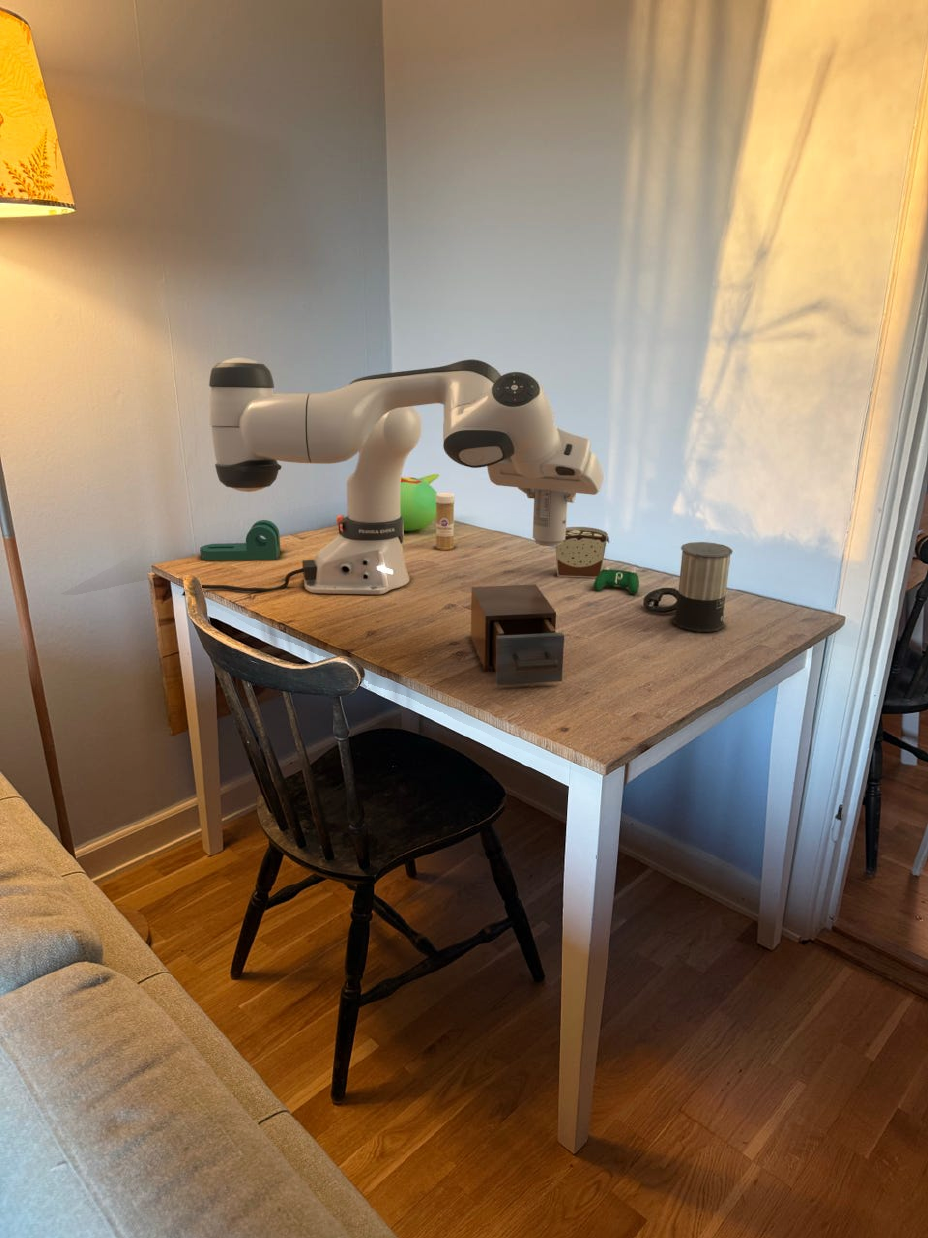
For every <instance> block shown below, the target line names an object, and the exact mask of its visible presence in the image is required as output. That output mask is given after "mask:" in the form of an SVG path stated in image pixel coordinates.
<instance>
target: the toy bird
mask: <svg viewBox="0 0 928 1238" xmlns="http://www.w3.org/2000/svg"><path fill="white" fill-rule="evenodd" d="M439 477H440V474H439V473H434V474H428V475H426V476H422V477H419V478H417V477H406V476H401V486H400V511H401V516H402V518H403V525H404V532H413V531H418V530H422V529H425V528H426V527H429V526H430V525H431V524H432V523H433V522H434V521H436V494H437V493H438V492H437V491H436V490H435V488H434V487H433V486H431V484H432V483H433V482H435V480H437V479H438V478H439Z"/></svg>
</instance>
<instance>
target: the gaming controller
mask: <svg viewBox="0 0 928 1238" xmlns="http://www.w3.org/2000/svg"><path fill="white" fill-rule="evenodd" d="M639 579H640V578H639V575H638V573H637V571H636V569H635V568H630V569H629V571H628V570H620V569H610V567H609V566H608V565H605V566H604V567H602V570H601V572H600V574H599V575H598V576H597V578H595V580H594V583H593V590H594V591H601V590H602V589H603V588H605V587H606V586H607V587H608V588H609V587H610V588H613V587H618V588H622V589H628V591H629V593H630V595H634V596H635V595H637V594H638V592H639V586H640V580H639Z"/></svg>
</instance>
